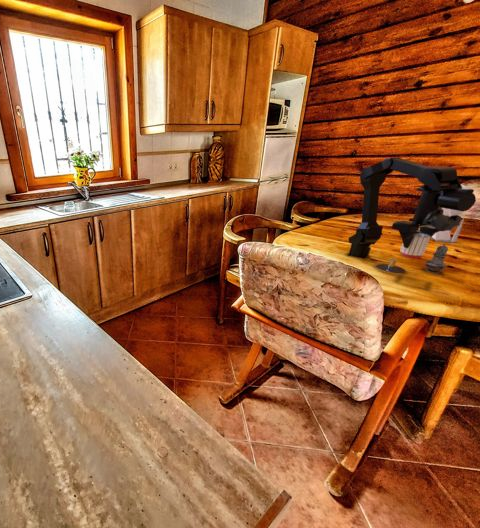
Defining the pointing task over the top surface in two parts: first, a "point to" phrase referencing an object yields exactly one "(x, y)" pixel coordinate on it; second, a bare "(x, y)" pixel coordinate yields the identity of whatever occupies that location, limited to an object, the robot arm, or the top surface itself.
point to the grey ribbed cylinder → (417, 245)
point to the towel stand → (391, 267)
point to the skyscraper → (445, 235)
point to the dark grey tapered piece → (437, 260)
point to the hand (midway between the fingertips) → (413, 246)
